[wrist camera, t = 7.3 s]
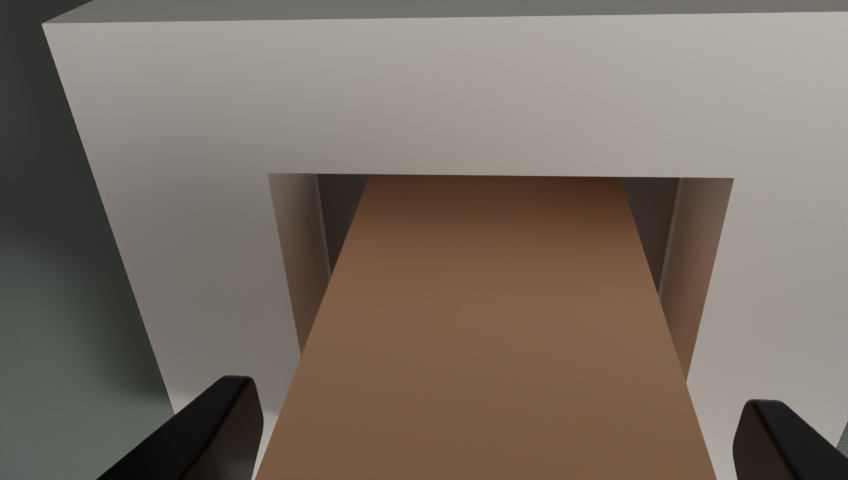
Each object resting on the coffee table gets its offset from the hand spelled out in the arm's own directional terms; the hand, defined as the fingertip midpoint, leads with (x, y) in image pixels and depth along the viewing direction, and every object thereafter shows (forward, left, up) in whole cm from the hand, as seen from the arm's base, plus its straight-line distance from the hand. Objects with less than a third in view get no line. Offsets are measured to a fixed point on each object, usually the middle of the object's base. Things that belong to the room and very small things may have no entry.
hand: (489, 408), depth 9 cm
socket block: (0, 0, -4) cm, 4 cm away
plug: (0, 0, -3) cm, 3 cm away
